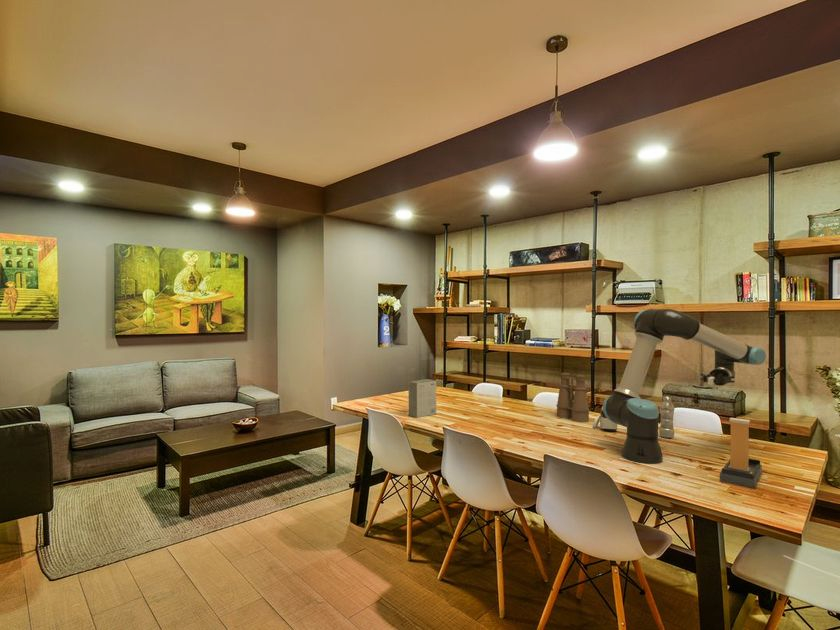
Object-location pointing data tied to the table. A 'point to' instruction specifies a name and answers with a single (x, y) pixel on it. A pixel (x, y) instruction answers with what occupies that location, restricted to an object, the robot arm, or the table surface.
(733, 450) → the tan upright block
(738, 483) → the dark grey stand
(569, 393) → the binoculars
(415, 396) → the hard drive box
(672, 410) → the plastic bottle
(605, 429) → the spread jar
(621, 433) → the table surface
